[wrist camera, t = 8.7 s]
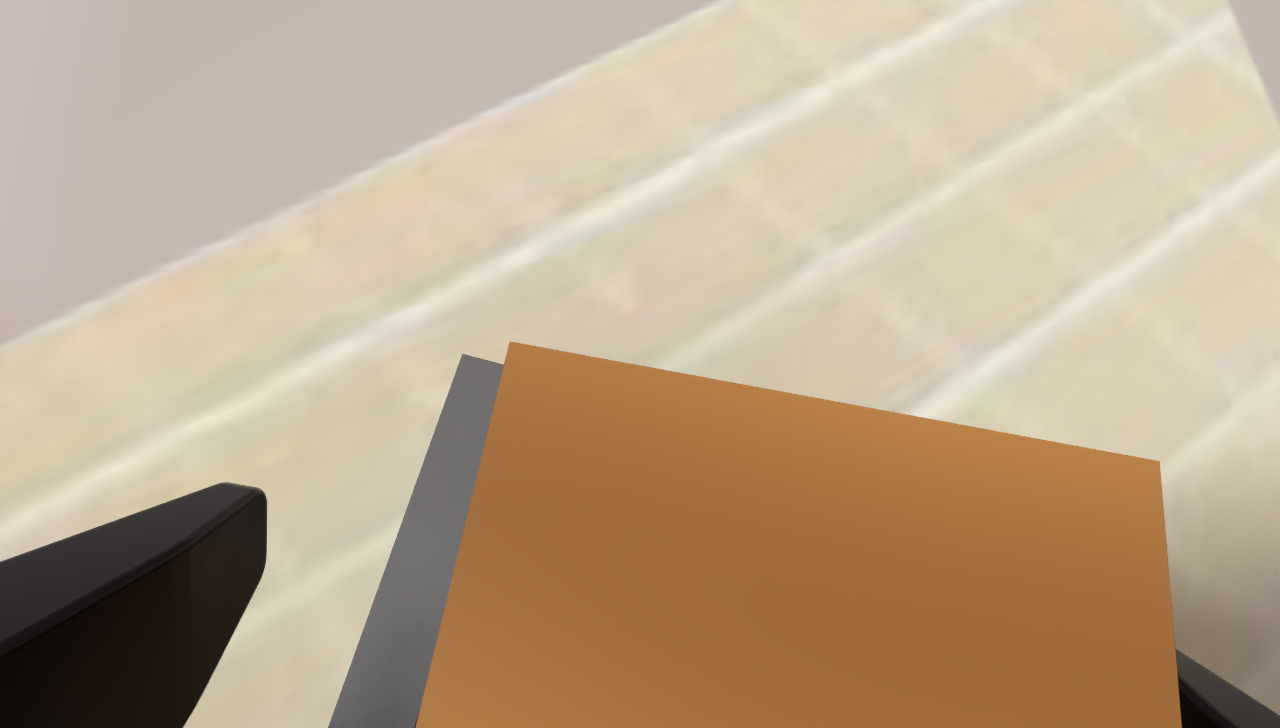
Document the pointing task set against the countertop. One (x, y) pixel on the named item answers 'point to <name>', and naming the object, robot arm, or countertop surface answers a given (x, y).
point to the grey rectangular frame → (421, 563)
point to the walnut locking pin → (793, 566)
